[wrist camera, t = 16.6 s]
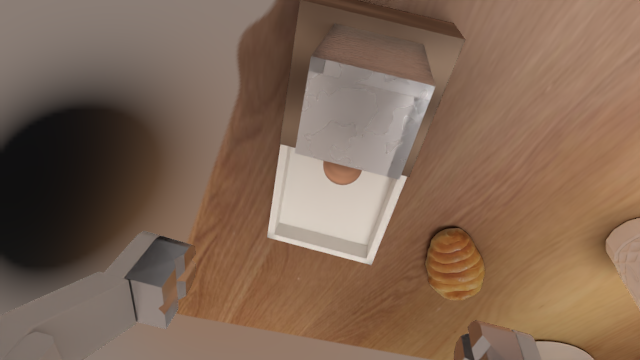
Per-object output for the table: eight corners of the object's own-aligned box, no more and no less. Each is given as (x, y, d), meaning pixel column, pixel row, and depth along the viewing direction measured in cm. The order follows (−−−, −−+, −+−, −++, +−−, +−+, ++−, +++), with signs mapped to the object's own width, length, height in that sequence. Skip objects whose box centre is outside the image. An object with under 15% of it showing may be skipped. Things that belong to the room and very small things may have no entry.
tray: (372, 247, 45) (371, 264, 43) (273, 221, 46) (267, 237, 43) (410, 150, 37) (411, 165, 35) (289, 119, 38) (282, 132, 35)
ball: (354, 195, 37) (361, 180, 34) (317, 184, 37) (320, 169, 34) (362, 162, 39) (370, 144, 35) (326, 152, 39) (330, 133, 35)
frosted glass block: (398, 119, 29) (399, 179, 22) (319, 99, 29) (294, 153, 22) (423, 44, 26) (435, 86, 18) (334, 23, 26) (311, 55, 19)
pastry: (417, 228, 43) (419, 250, 40) (478, 220, 41) (485, 243, 38) (429, 281, 47) (432, 305, 44) (484, 277, 45) (491, 302, 42)
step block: (407, 145, 37) (409, 177, 32) (294, 117, 37) (279, 143, 32) (453, 23, 30) (465, 39, 25) (315, -10, 30) (300, -1, 26)
